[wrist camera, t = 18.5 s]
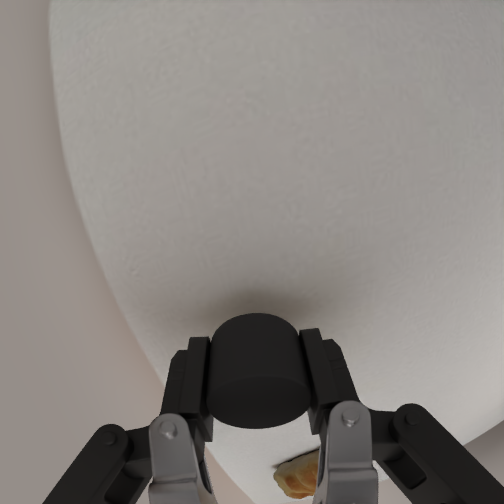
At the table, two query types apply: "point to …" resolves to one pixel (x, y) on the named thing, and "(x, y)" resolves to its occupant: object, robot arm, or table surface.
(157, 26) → the table surface
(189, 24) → the table surface
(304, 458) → the pastry
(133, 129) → the table surface
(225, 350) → the black short cylinder
